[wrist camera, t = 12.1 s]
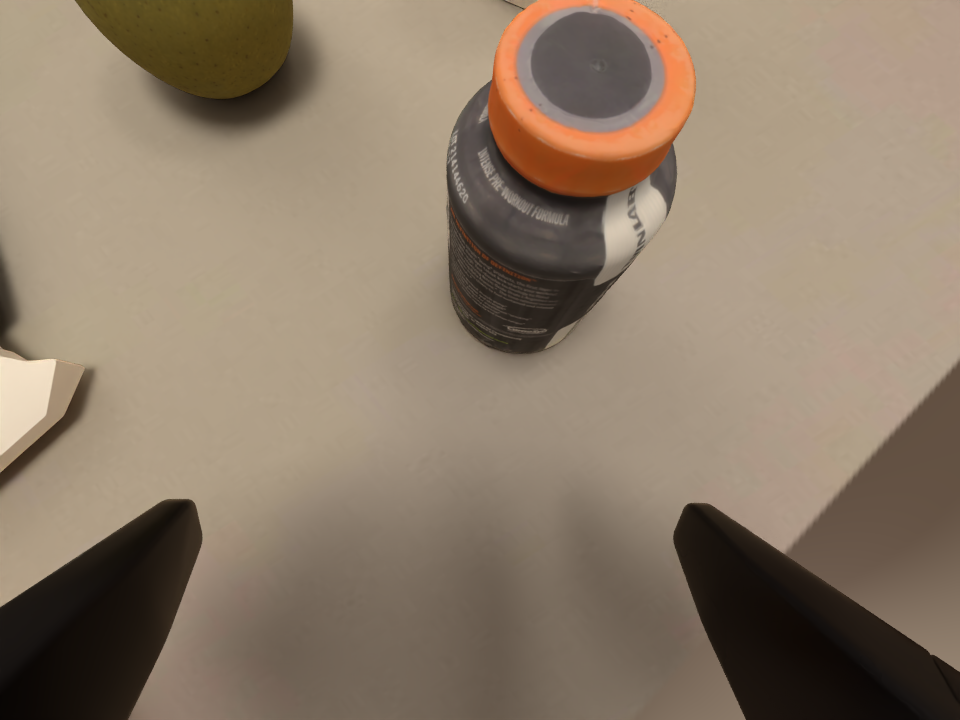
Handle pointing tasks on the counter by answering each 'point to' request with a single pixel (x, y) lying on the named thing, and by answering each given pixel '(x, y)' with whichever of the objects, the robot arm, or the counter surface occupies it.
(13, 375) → the spray bottle
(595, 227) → the pill bottle
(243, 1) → the apple
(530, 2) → the cup
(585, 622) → the counter surface
